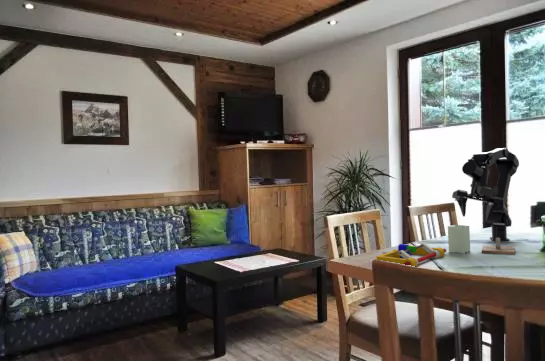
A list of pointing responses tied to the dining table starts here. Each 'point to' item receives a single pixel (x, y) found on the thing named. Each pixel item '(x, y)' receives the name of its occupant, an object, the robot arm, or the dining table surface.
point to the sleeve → (459, 238)
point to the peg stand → (498, 249)
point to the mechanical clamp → (405, 253)
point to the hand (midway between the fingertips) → (475, 218)
